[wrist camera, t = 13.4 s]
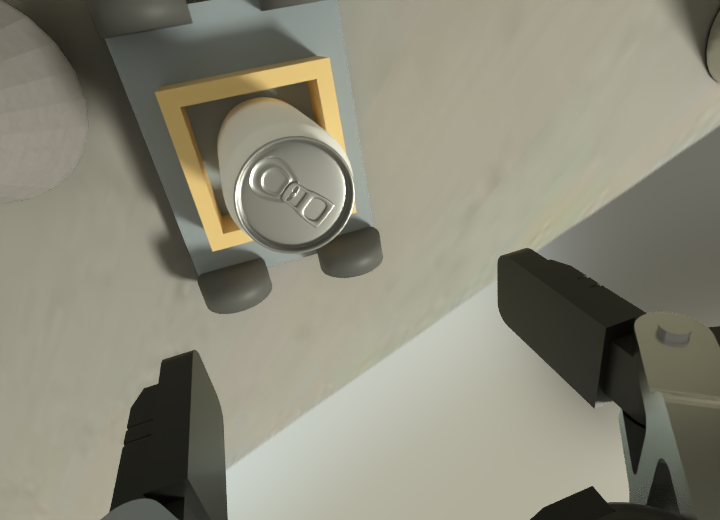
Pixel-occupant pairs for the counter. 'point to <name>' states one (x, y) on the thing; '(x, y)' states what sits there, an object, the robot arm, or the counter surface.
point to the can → (283, 176)
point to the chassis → (212, 104)
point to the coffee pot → (36, 110)
